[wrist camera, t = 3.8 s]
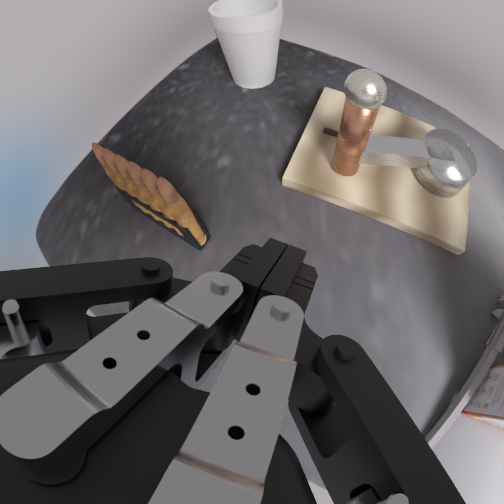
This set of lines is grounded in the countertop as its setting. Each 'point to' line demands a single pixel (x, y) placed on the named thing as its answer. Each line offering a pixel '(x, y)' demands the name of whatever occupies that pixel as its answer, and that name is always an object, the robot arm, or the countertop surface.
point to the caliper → (471, 379)
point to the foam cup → (249, 38)
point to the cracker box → (488, 399)
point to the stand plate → (376, 178)
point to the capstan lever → (397, 142)
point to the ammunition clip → (153, 197)
